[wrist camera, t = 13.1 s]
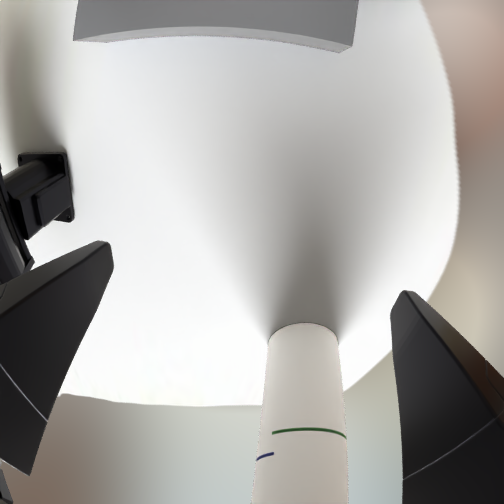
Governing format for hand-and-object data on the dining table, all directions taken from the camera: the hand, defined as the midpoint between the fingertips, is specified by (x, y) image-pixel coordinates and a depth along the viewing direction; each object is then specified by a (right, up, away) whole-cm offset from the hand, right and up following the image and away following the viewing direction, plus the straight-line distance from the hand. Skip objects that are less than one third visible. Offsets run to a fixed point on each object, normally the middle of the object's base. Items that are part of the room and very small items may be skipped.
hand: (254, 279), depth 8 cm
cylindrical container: (+5, -9, +21) cm, 23 cm away
